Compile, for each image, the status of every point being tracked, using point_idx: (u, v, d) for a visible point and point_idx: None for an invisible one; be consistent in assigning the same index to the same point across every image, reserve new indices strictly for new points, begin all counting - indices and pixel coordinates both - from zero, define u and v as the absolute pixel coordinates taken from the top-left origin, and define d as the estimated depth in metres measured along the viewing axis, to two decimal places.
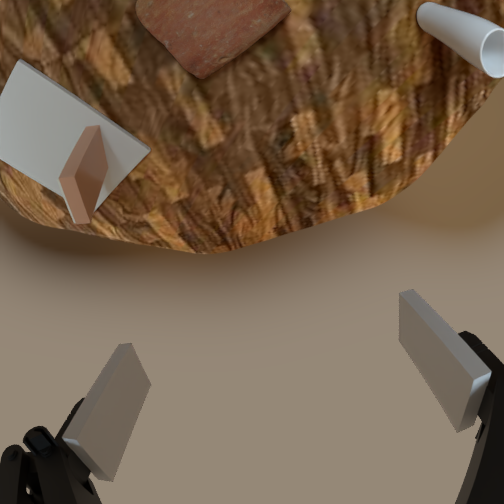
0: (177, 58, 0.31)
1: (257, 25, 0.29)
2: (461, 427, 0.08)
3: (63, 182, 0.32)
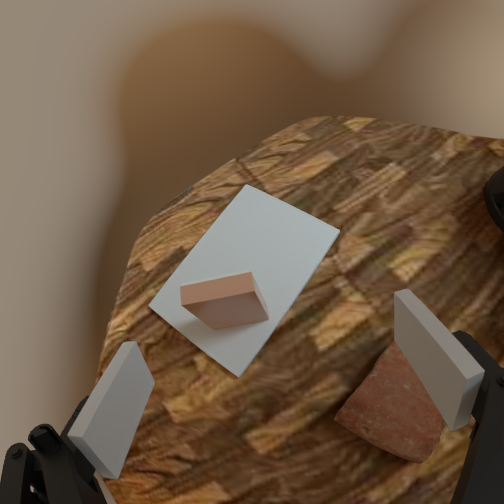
0: (359, 389, 0.34)
1: (406, 444, 0.29)
2: (455, 426, 0.08)
3: (245, 277, 0.33)
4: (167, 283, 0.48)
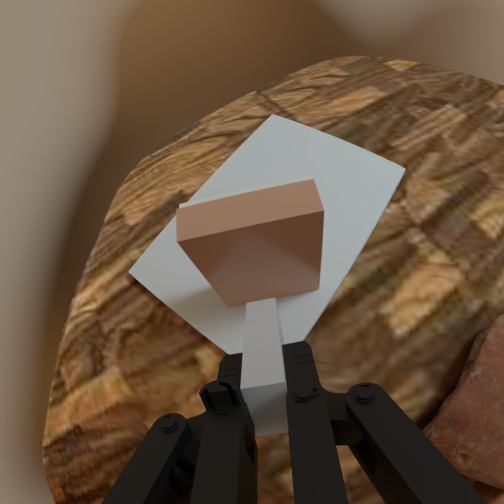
0: (458, 396, 0.18)
1: None
2: (278, 429, 0.10)
3: (303, 187, 0.17)
4: (158, 239, 0.32)
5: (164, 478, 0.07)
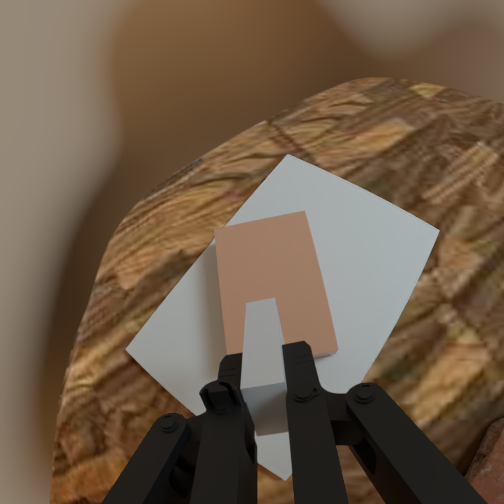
0: None
1: None
2: (278, 429, 0.10)
3: None
4: (157, 313, 0.27)
5: (164, 478, 0.07)
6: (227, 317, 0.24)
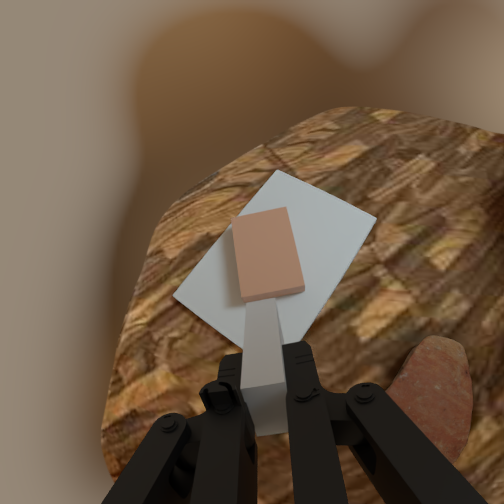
0: (389, 390, 0.31)
1: None
2: (278, 429, 0.10)
3: None
4: (194, 271, 0.45)
5: (164, 478, 0.07)
6: (240, 268, 0.41)
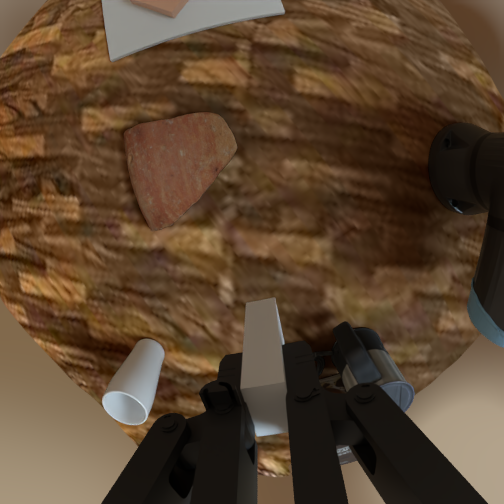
0: (151, 123, 0.37)
1: (146, 199, 0.39)
2: (278, 429, 0.10)
3: None
4: None
5: (164, 478, 0.07)
6: None
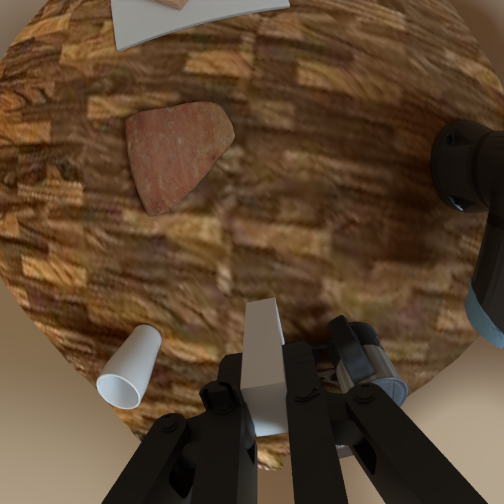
0: (152, 111, 0.37)
1: (144, 185, 0.40)
2: (278, 429, 0.10)
3: None
4: None
5: (164, 478, 0.07)
6: None
